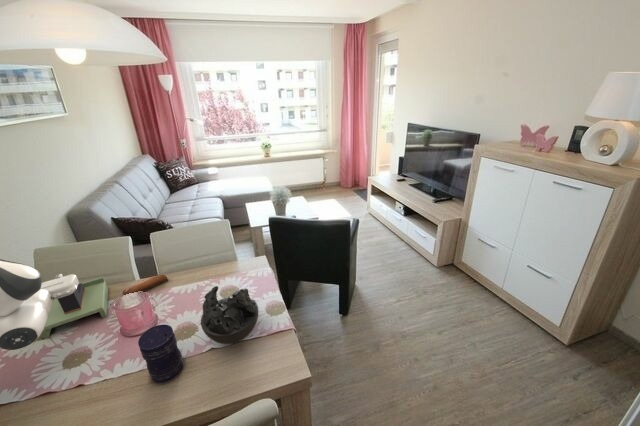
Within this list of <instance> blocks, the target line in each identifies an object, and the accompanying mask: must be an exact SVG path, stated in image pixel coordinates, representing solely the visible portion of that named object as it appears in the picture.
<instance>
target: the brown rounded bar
mask: <svg viewBox="0 0 640 426" xmlns="http://www.w3.org/2000/svg"><path fill="white" fill-rule="evenodd" d="M167 281H169V279H168V277H167V275H165V274H158V275H153V276H150V277H147V278H144V279H141V280H139V281H137V282H136V283H134V284H133V285H131V286H129V287H127V288H126V289H124V290H122V295H123V296H124V295H126V294H129V293H134V292H138V291H142V292H144V291H147V290H150V289H151V288H153V287H156V286H158V285H159V284H162V283H165V282H167Z"/></svg>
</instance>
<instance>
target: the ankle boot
mask: <svg viewBox="0 0 640 426" xmlns="http://www.w3.org/2000/svg"><path fill="white" fill-rule="evenodd" d="M80 283H81V284H80ZM80 283H79V284H78V286H77V289H76V290H75V291H74V292H73V293H72V294H70V295H68V296H65V297H61V298H58V301H59V303H60V305H61V307H62V309H63V311H64V314H68V313H71V312H74V311H77V310H80V309H82V304H83V299H84V293H85V288H84V287H83V285H82V283H83V282H80Z"/></svg>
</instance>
